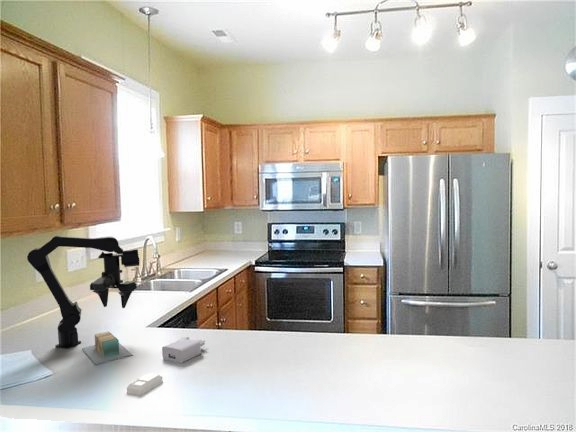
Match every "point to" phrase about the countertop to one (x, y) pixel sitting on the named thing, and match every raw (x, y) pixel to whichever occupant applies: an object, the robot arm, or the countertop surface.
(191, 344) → the charger
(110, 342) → the oak block
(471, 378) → the countertop surface
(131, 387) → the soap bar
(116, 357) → the mat
